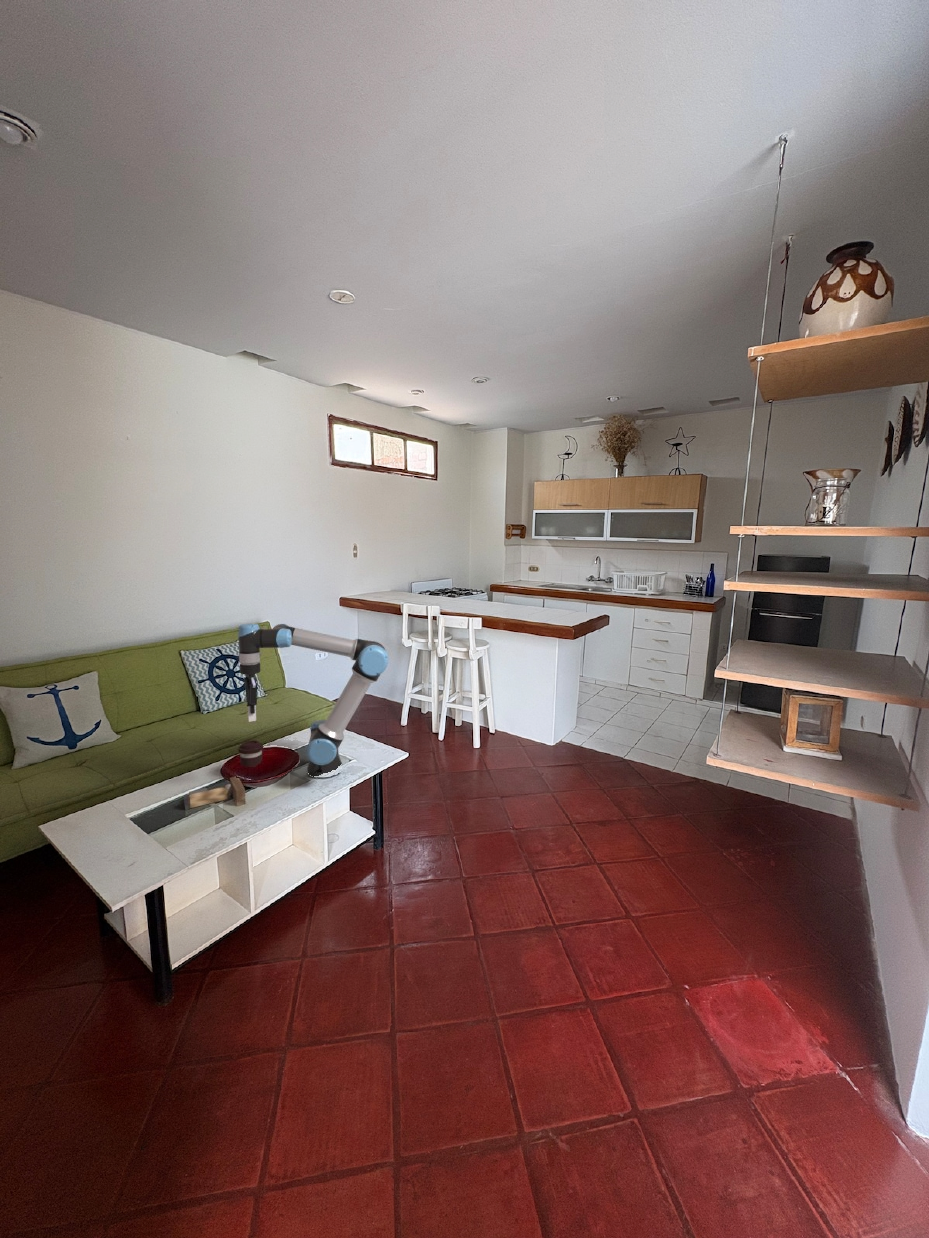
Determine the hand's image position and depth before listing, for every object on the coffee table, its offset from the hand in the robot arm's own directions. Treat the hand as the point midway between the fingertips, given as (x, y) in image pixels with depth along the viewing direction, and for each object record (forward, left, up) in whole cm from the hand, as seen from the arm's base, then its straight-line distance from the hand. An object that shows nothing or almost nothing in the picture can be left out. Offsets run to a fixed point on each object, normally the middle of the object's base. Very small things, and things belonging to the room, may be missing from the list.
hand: (252, 720), depth 197 cm
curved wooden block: (+7, +3, -29) cm, 30 cm away
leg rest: (+20, -2, -29) cm, 36 cm away
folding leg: (+17, +1, -29) cm, 34 cm away
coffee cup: (-2, -15, -30) cm, 33 cm away
